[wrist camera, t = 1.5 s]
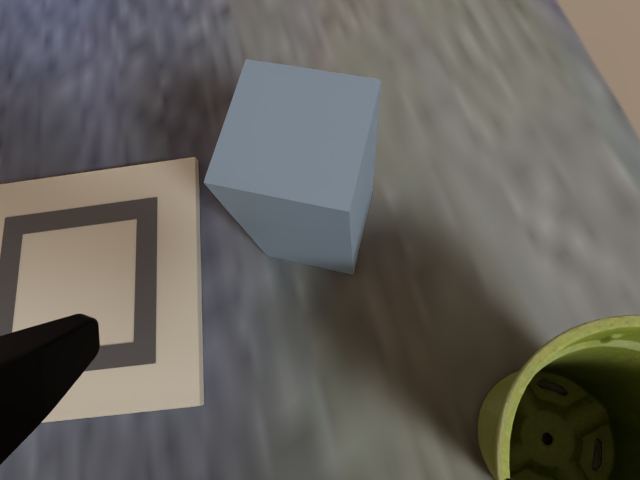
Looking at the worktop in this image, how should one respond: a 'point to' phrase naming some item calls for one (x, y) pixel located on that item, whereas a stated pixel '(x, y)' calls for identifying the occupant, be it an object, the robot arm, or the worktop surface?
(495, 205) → the worktop surface
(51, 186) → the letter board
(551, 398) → the plant pot
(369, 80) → the blue block
